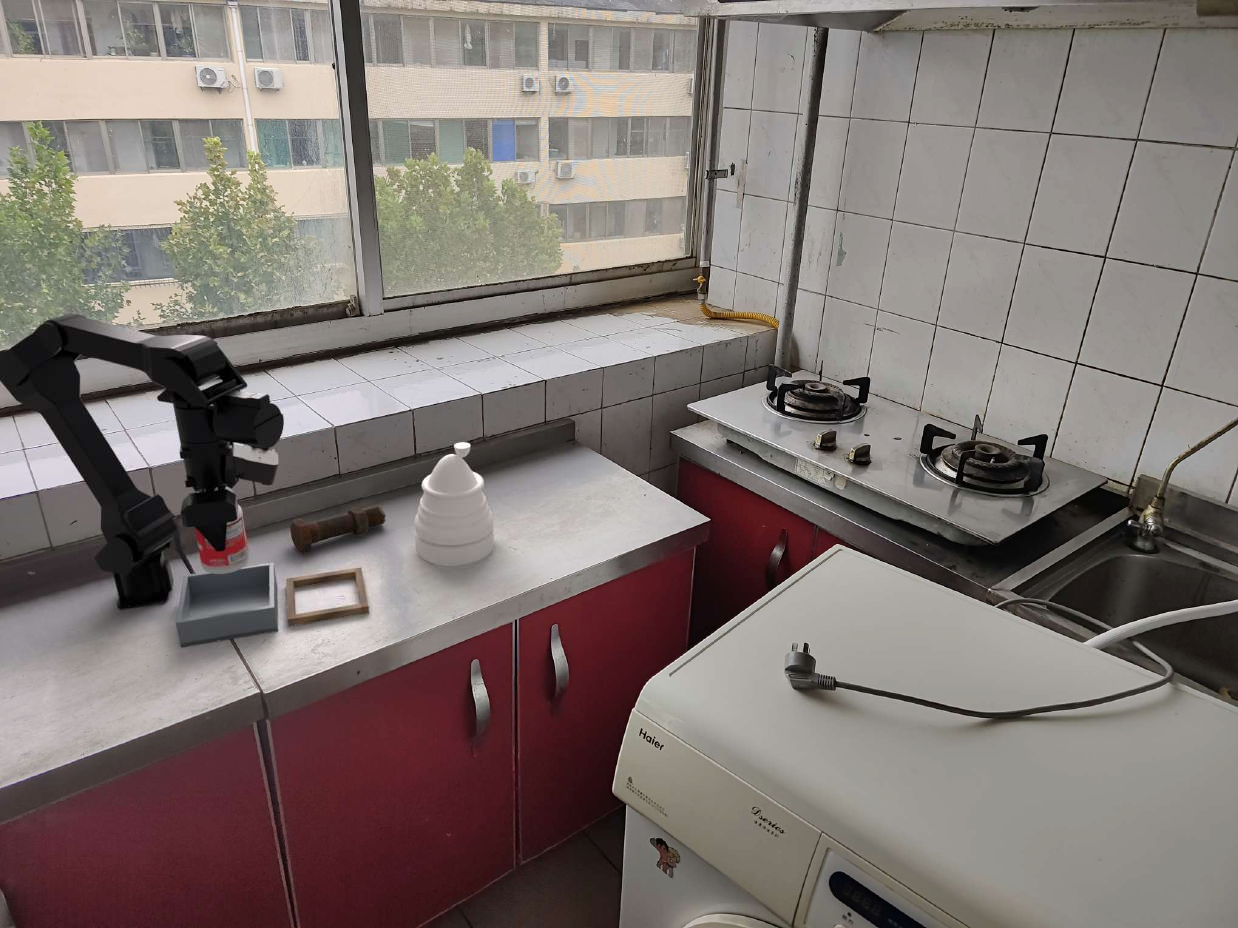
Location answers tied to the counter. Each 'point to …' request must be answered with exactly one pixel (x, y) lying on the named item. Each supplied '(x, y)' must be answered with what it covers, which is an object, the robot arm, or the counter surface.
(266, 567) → the bin
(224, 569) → the pill bottle
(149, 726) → the counter surface
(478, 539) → the honey pot
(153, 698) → the counter surface
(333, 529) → the bolt
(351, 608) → the wooden frame
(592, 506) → the counter surface
